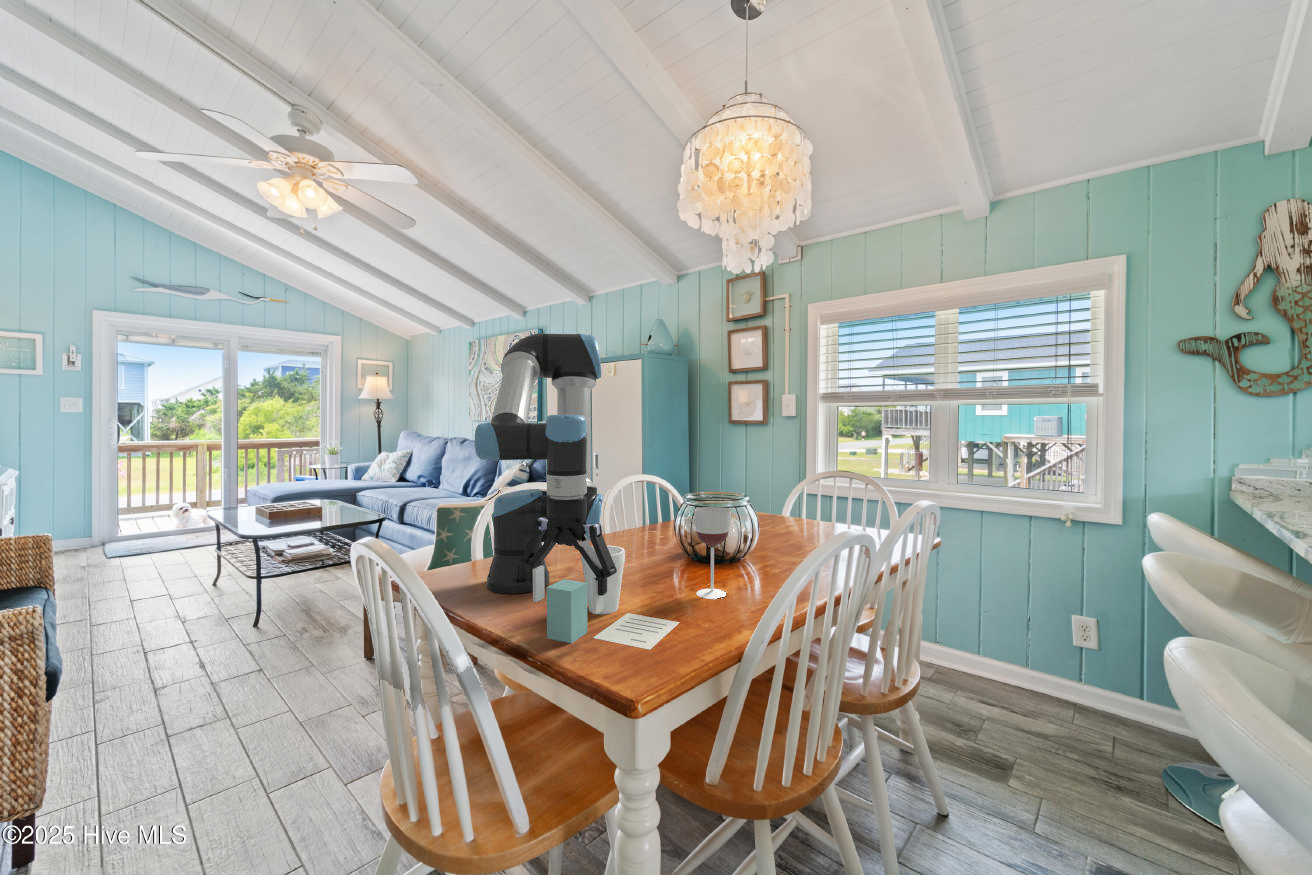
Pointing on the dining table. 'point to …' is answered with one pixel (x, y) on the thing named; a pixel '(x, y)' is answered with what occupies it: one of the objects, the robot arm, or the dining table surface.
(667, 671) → the dining table surface
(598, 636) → the letter
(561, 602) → the block
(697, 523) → the wineglass
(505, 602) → the dining table surface
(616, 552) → the foam cup
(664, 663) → the dining table surface
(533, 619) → the dining table surface
